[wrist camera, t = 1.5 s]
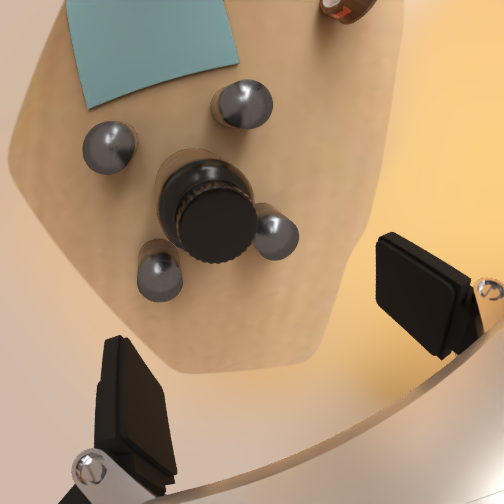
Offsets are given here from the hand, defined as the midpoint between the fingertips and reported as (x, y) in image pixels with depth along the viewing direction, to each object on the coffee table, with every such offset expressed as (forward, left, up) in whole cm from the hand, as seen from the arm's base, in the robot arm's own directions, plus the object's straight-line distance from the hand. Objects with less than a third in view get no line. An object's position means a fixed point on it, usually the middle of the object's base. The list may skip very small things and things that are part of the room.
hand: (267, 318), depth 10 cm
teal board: (-16, 0, -20) cm, 26 cm away
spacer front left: (-6, -5, -20) cm, 22 cm away
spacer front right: (-6, +6, -20) cm, 22 cm away
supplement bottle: (0, 0, -20) cm, 20 cm away
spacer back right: (+6, +6, -20) cm, 22 cm away
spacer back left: (+6, -5, -20) cm, 22 cm away
